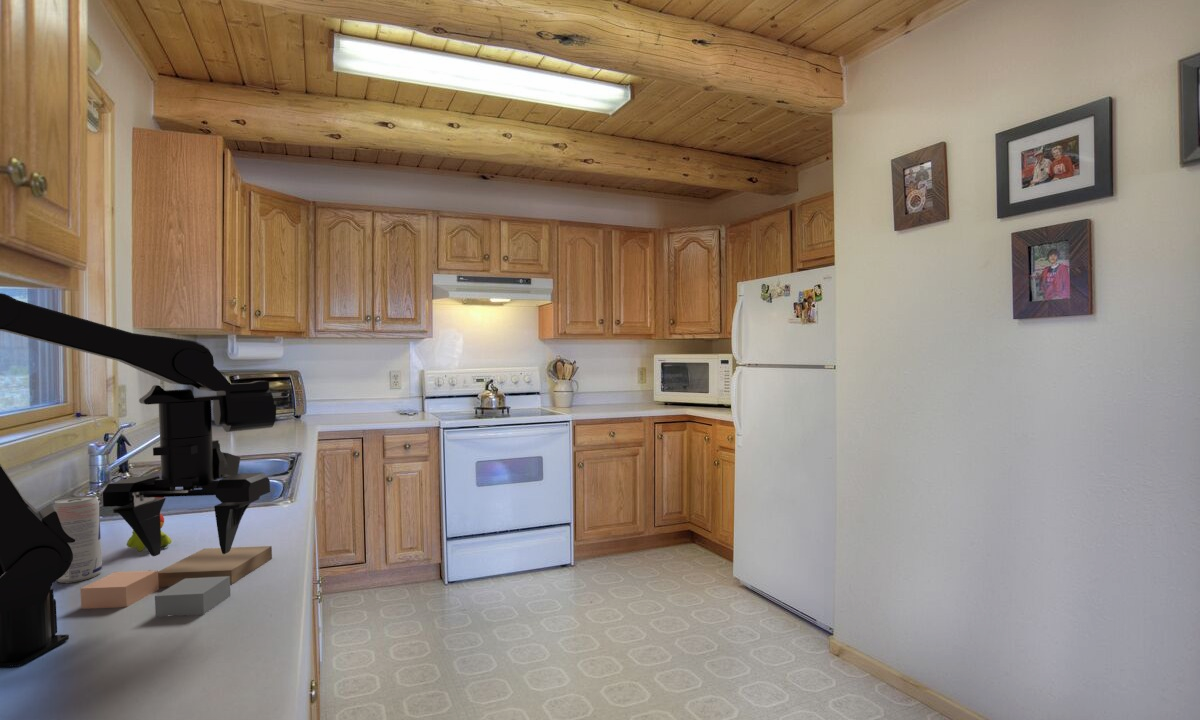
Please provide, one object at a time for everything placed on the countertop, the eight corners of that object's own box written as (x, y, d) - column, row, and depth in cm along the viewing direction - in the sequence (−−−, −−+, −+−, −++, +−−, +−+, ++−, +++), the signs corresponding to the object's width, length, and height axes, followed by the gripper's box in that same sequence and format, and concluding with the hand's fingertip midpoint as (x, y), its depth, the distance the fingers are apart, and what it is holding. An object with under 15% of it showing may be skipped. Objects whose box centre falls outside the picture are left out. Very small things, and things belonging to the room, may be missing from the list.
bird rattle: (129, 558, 109) (125, 549, 102) (128, 497, 112) (125, 484, 105) (172, 551, 112) (171, 542, 105) (170, 492, 116) (169, 479, 109)
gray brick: (204, 616, 78) (203, 593, 78) (155, 619, 78) (154, 596, 78) (230, 597, 84) (229, 576, 84) (185, 600, 84) (184, 578, 84)
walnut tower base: (231, 584, 88) (231, 570, 88) (155, 586, 88) (154, 573, 88) (272, 558, 99) (271, 546, 99) (204, 560, 99) (203, 548, 99)
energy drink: (97, 568, 97) (94, 493, 97) (106, 575, 94) (102, 497, 94) (52, 578, 93) (49, 500, 93) (60, 586, 90) (56, 505, 90)
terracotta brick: (127, 608, 81) (125, 586, 81) (81, 610, 81) (80, 588, 81) (158, 591, 87) (157, 570, 87) (116, 593, 87) (115, 572, 87)
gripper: (288, 426, 89) (292, 533, 89) (159, 430, 88) (163, 538, 89) (244, 437, 77) (248, 559, 78) (96, 441, 77) (101, 564, 77)
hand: (191, 554), depth 81 cm, fingers open, 9 cm apart
